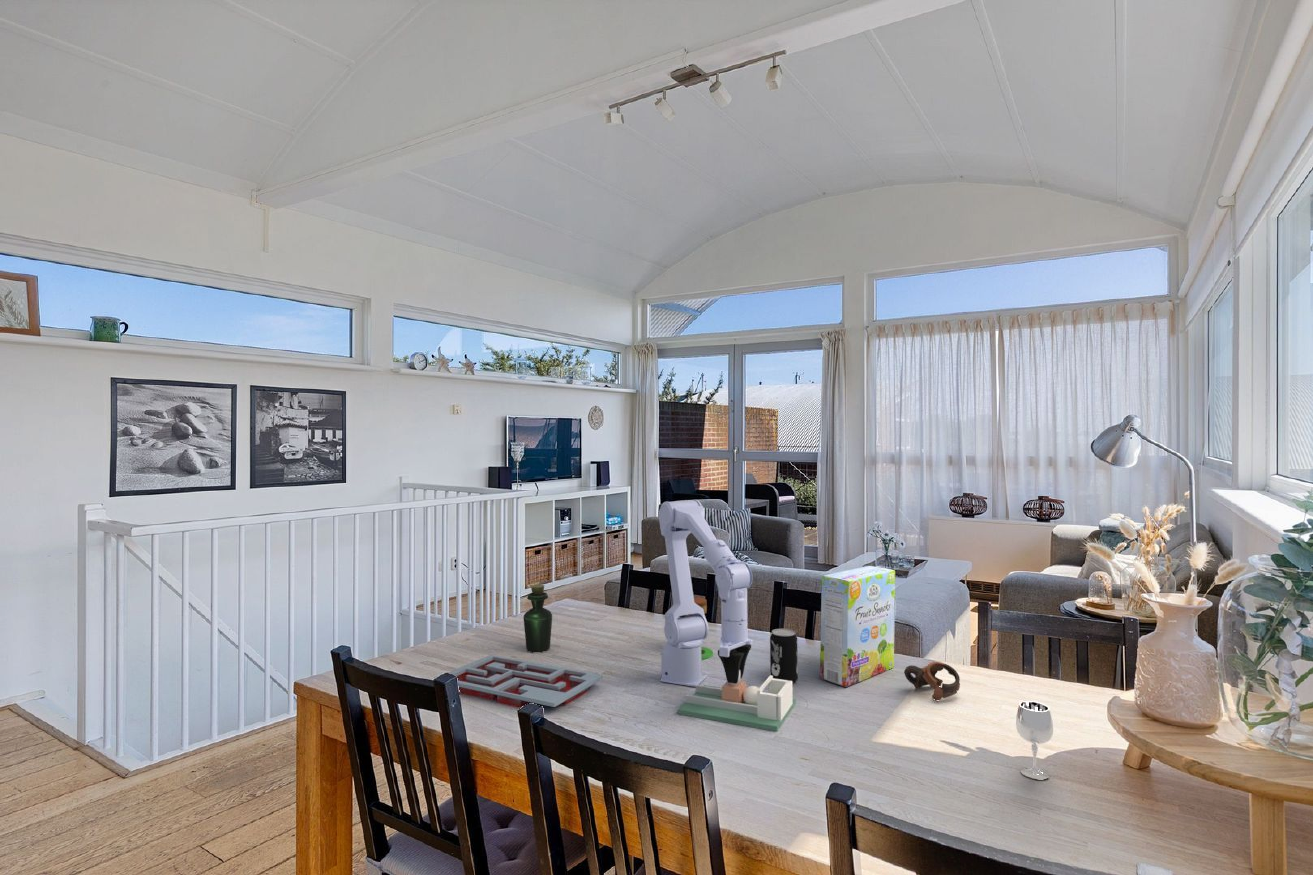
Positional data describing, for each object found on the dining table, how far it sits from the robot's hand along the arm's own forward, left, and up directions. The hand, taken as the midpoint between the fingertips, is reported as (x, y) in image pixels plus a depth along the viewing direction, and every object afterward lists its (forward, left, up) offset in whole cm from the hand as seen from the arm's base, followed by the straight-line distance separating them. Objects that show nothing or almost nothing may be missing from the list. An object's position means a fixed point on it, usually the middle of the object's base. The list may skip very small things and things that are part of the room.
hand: (734, 679), depth 152 cm
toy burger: (-22, +32, -6) cm, 40 cm away
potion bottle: (-64, +18, -6) cm, 67 cm away
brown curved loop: (+39, +27, -7) cm, 48 cm away
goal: (+9, 0, -6) cm, 11 cm away
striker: (0, 0, -5) cm, 5 cm away
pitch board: (+1, 0, -6) cm, 6 cm away
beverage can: (+6, +21, -6) cm, 23 cm away
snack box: (+22, +33, -6) cm, 40 cm away
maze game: (-51, -9, -7) cm, 52 cm away
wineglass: (+58, -7, -6) cm, 58 cm away
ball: (+4, 0, -3) cm, 5 cm away
